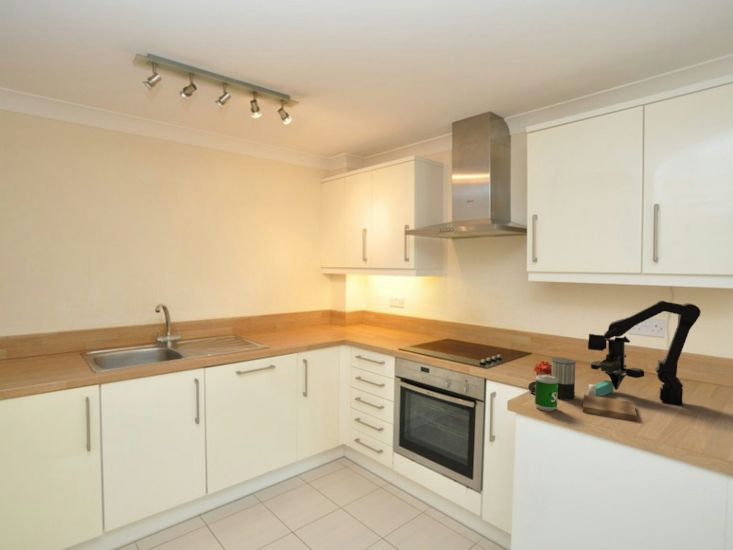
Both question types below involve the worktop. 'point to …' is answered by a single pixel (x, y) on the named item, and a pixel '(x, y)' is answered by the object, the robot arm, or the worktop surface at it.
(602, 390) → the folding leg
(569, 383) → the milk frother
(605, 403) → the flat wooden board
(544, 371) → the dragon fruit
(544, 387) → the soda can
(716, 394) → the worktop surface
